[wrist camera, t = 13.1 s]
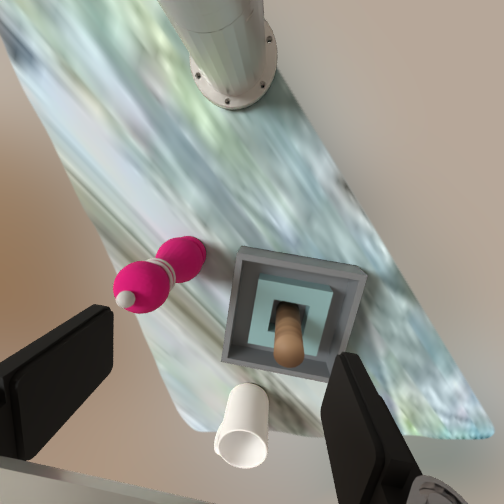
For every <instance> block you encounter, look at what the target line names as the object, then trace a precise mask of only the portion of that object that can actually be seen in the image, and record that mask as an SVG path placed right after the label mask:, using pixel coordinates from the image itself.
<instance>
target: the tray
mask: <svg viewBox="0 0 504 504" xmlns="http://www.w3.org/2000/svg"><path fill="white" fill-rule="evenodd" d="M367 277H368V275H367V274H365V273H364V272H363V271H362V270H361V269H360V268H359V267H358V266H356V265H350V264H344V263H338V262H333V261H327V260H321V259H315V258H310V257H304V256H298V255H292V254H287V253H281V252H275V251H269V250H264V249H258V248H252V247H246V246H241V247H240V248H239V250H238V252H237V255H236V262H235V269H234V276H233V283H232V290H231V297H230V304H229V311H228V317H227V324H226V331H225V338H224V345H223V352H222V359H221V362H225V363H230V364H235V365H240V366H245V367H250V368H255V369H260V370H265V371H270V372H275V373H280V374H285V375H290V376H295V377H300V378H305V379H310V380H315V381H320V382H325V383H328V381H329V378H330V375H331V371H332V368H333V364H334V361H335V357H336V355H337V354H338V355H340V354H341V353H342V352H345V351H346V348H347V344H348V341H349V337H350V334H351V331H352V327H353V324H354V321H355V317H356V314H357V310H358V307H359V304H360V300H361V297H362V294H363V290H364V287H365V284H366V280H367ZM281 301H286V302H291V303H296V304H297V305H298V307H299V313H300V321H301V330H302V338H303V346H304V355H305V356H304V360H303V362H302V363H301V364H300V365H298V366H297V367H293V368H287V367H283V366H281V365H279V364H278V363H277V362H276V360H275V358H274V354H273V353H274V338H275V323H276V309H277V306H278V304H279V303H280V302H281Z"/></svg>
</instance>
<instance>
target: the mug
mask: <svg viewBox="0 0 504 504" xmlns="http://www.w3.org/2000/svg"><path fill="white" fill-rule="evenodd" d="M268 417H269V401H268V396H267V394H266V393H265V391H264V390H263V389H262V388H261V387H259V386H257V385H255V384H251V383H243V384H240V385H237V386H236V387H234V388H233V389H232V391H231V392H230V395H229V398H228V402H227V406H226V411H225V415H224V419H223V422H222V423H221V425H220V427H219V429H218V431H217V434H216V437H215V442H214V449H215V452H216V453H217V454H218V455H220V456H221V457H222V458H223V459H224V460H225V461H226V462H227V463H229V464H230V465H232V466H235V467H238V468H253V467H256V466H259V465H260V464H261V463H263V461H264V460H265V459H266V457H267V453H268Z"/></svg>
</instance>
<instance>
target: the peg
mask: <svg viewBox="0 0 504 504" xmlns="http://www.w3.org/2000/svg"><path fill="white" fill-rule="evenodd" d="M273 354H274V358H275V360H276V362H277V363H278V364H279V365H281V366H283V367H287V368H293V367H297V366H298V365H300V364H301V363H302V362H303V360H304V356H305V355H304V346H303V338H302V330H301V321H300V313H299V307H298V305H297V304H296V303H291V302H286V301H281V302H280V303H279V304H278V306H277V309H276V323H275V338H274V353H273Z"/></svg>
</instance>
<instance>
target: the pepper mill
mask: <svg viewBox="0 0 504 504" xmlns="http://www.w3.org/2000/svg"><path fill="white" fill-rule="evenodd" d="M205 259H206V250H205V247H204V245H203V244H202V242H201V241H199V240H198V239H197V238H194V237H191V236H184V237H179V238H173V239H170V240H168V241H167V242H165V243H164V244H163V245H162V246H161V247H160V248H159V250H158V252H157V254H156V258H151V259H148V260H146V261H137V262H134V263H131V264H129V265H127V266H126V267H124V268H123V269H122V270H121V271H120V272H119V273H118V275H117V276H116V278H115V281H114V286H113V291H114V296H115V298H116V303H117V305H118V306H119V307H121V308H124V309H126V310H128V311H130V312H133V313H138V314H141V313H148V312H152V311H154V310H156V309H157V308H159V307H160V306H161V305H162V304H163V303H164V302H165V300H166V299H167V297H168V294H169V292H170V291H171V290H172V289H173V287H174V285H175V283H183V282H186V281H189V280H191V279H192V278H194V277H195V276H196V275H197V274H198V273H199V272H200V270H201V268H202V265H203V264H204V262H205Z"/></svg>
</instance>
